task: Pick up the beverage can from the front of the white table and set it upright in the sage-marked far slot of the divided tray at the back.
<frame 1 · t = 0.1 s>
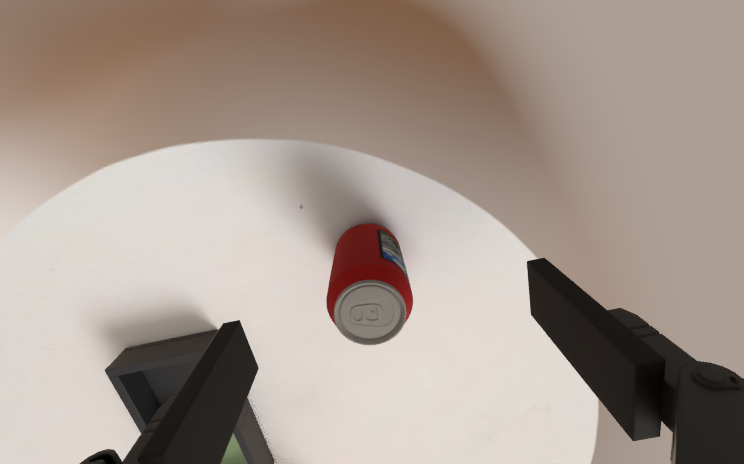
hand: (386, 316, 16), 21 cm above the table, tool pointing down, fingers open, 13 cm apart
divided tray: (205, 408, 44), on the table
beverage can: (367, 250, 38), on the table
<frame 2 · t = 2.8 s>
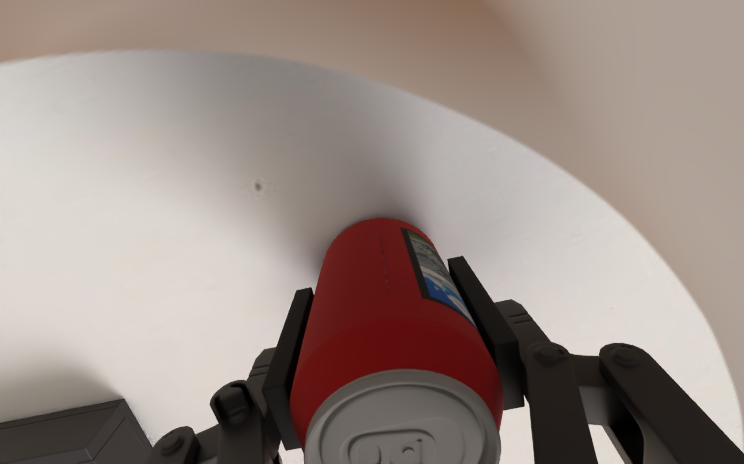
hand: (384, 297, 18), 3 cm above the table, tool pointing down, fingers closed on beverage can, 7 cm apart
beverage can: (380, 266, 21), on the table, touching gripper
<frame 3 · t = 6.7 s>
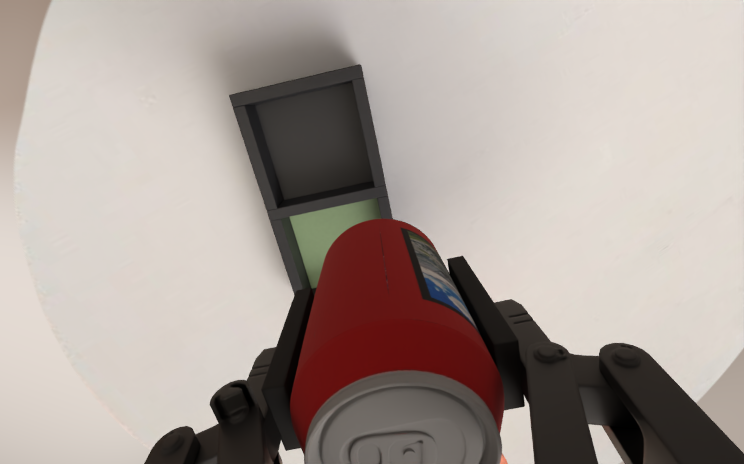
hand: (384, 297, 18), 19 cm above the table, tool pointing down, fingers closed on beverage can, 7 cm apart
divided tray: (330, 193, 36), on the table
beverage can: (381, 267, 21), point 16 cm above the table, touching gripper
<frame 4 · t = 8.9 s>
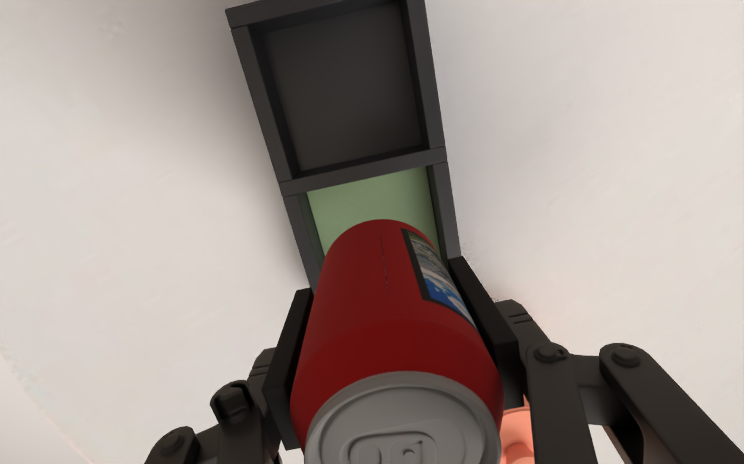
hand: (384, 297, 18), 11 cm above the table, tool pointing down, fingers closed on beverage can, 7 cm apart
divided tray: (362, 163, 26), on the table
beverage can: (380, 267, 21), point 7 cm above the table, touching gripper
teapot: (486, 377, 34), on the table
when the fingers open (4 cm above the table, at t = 10.8 s): beverage can stays where it is, resting on divided tray.
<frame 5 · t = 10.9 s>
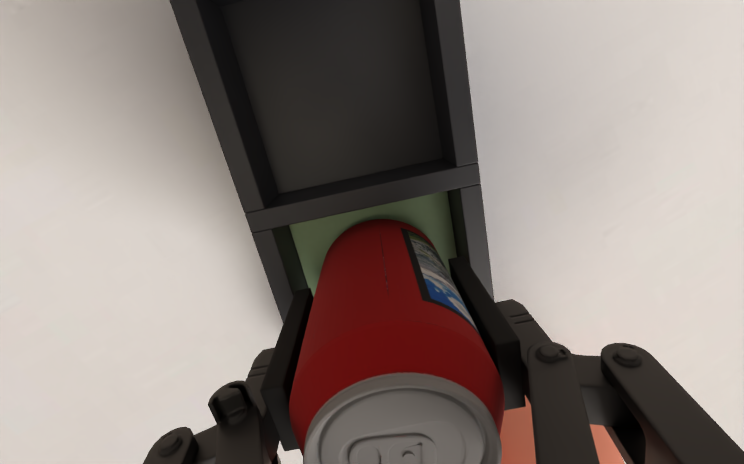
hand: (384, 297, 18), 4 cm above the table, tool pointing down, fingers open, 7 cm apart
divided tray: (362, 182, 20), on the table
beverage can: (381, 267, 21), point 1 cm above the table, touching divided tray
teapot: (516, 442, 27), on the table
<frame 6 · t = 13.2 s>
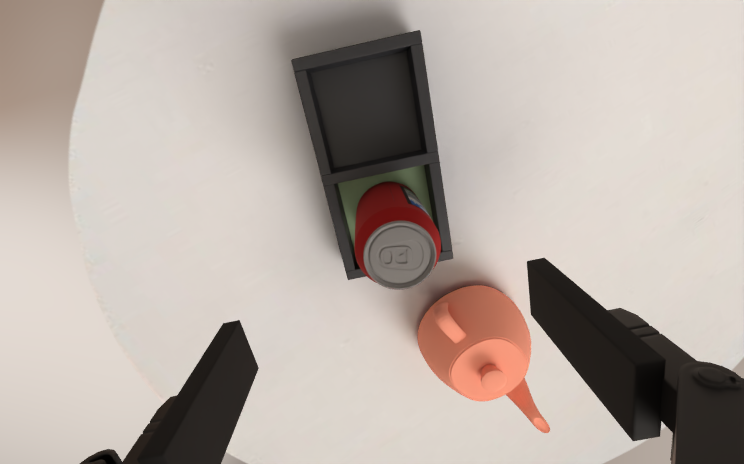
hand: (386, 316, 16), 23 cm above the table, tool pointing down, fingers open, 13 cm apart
divided tray: (378, 163, 36), on the table
beverage can: (388, 211, 38), point 1 cm above the table, touching divided tray
teapot: (470, 328, 44), on the table
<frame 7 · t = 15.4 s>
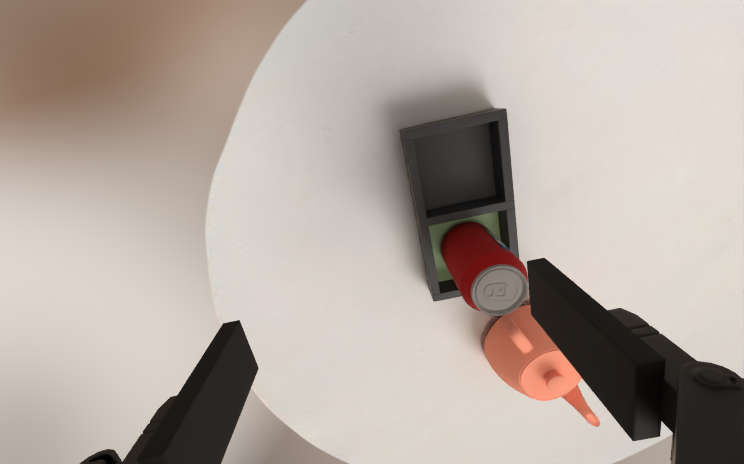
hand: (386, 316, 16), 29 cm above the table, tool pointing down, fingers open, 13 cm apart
divided tray: (458, 205, 44), on the table
beverage can: (465, 244, 45), point 1 cm above the table, touching divided tray
teapot: (526, 339, 51), on the table
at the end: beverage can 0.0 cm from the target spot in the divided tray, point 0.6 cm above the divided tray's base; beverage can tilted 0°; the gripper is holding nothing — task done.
